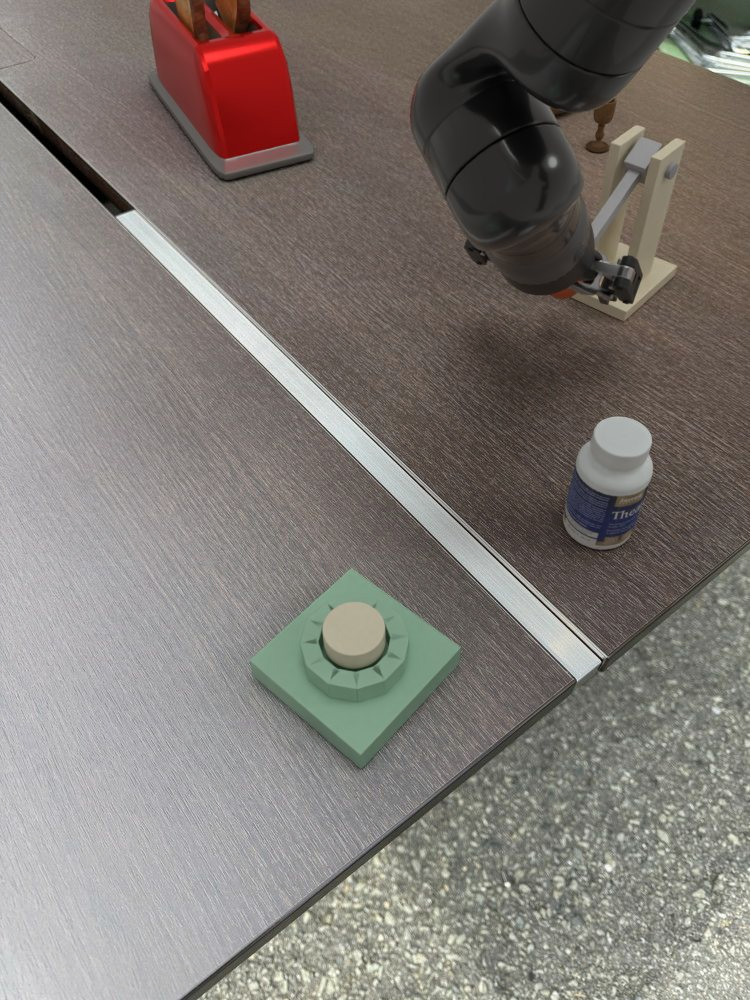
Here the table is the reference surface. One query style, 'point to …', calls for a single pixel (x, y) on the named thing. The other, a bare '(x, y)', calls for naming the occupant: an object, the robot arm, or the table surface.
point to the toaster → (226, 85)
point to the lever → (621, 192)
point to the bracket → (638, 220)
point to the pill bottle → (609, 483)
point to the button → (354, 635)
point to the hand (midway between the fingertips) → (562, 280)
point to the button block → (356, 671)
